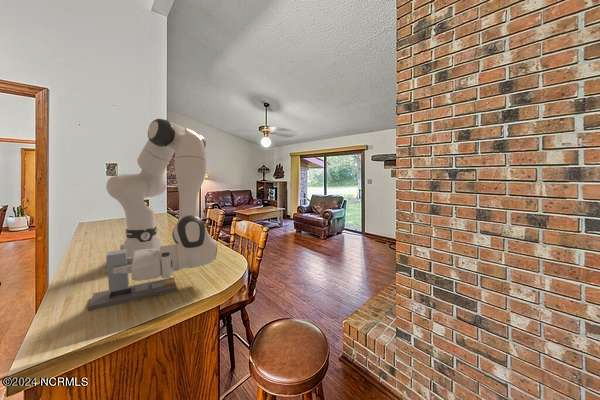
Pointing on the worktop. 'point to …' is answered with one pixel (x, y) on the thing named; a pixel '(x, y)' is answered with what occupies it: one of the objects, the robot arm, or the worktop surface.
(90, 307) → the power strip
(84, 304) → the worktop surface
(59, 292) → the worktop surface
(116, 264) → the grey rectangular block
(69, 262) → the worktop surface
